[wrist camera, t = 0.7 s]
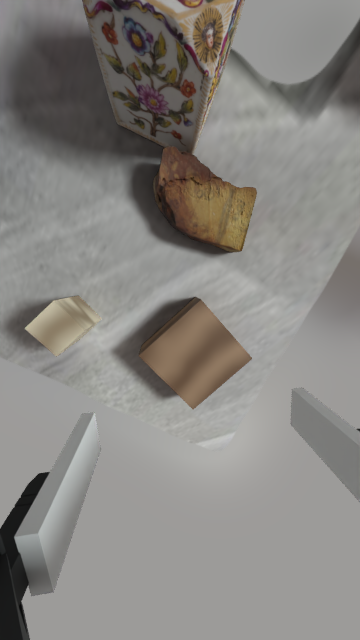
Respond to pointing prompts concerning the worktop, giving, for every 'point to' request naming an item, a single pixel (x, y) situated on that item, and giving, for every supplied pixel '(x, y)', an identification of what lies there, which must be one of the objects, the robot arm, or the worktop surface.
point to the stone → (202, 201)
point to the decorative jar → (163, 62)
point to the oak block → (63, 323)
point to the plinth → (194, 353)
